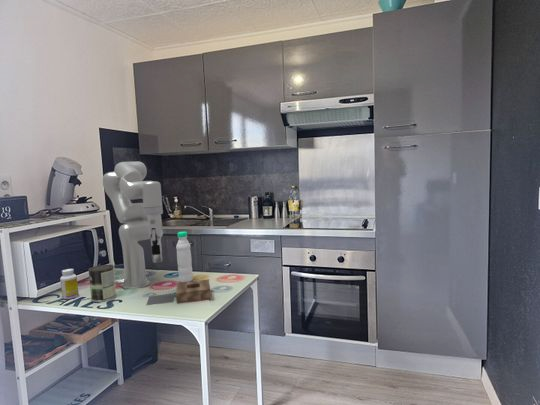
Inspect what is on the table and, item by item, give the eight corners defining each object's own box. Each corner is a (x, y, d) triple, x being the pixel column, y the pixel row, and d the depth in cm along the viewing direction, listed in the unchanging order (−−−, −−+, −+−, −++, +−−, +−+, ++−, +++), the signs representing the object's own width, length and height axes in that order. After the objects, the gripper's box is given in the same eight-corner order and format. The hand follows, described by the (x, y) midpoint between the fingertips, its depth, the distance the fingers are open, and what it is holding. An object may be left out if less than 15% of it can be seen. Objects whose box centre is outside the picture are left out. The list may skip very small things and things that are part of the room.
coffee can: (90, 303, 152) (87, 272, 151) (92, 296, 162) (89, 266, 161) (116, 299, 156) (113, 268, 155) (116, 292, 166) (113, 263, 165)
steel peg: (152, 263, 148) (149, 235, 147) (153, 260, 152) (151, 233, 151) (162, 262, 149) (159, 234, 148) (162, 259, 153) (160, 232, 152)
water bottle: (186, 277, 183) (183, 230, 181) (196, 279, 179) (192, 231, 177) (175, 281, 178) (171, 232, 175) (185, 283, 173) (181, 233, 171)
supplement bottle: (82, 295, 165) (79, 268, 164) (70, 300, 158) (66, 272, 157) (71, 294, 167) (68, 267, 166) (59, 299, 161) (55, 271, 160)
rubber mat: (146, 306, 145) (146, 305, 145) (149, 297, 156) (149, 296, 156) (173, 303, 148) (173, 301, 148) (174, 294, 158) (174, 293, 158)
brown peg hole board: (177, 304, 146) (176, 293, 145) (178, 293, 159) (177, 282, 159) (211, 300, 148) (210, 288, 148) (209, 289, 162) (208, 279, 162)
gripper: (160, 212, 141) (164, 257, 143) (164, 208, 157) (167, 248, 159) (141, 213, 139) (145, 258, 141) (146, 209, 156) (150, 249, 158)
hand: (156, 252), depth 150 cm, fingers closed on steel peg, 4 cm apart
